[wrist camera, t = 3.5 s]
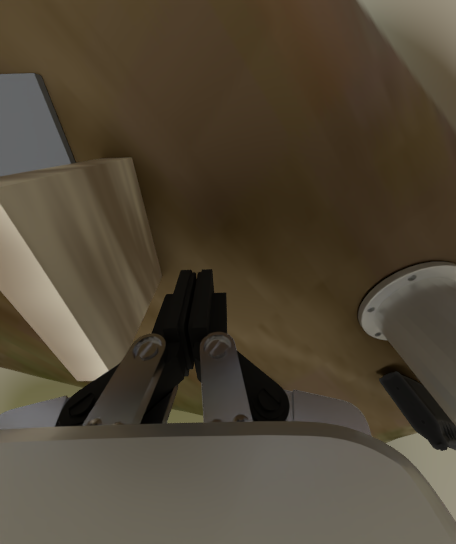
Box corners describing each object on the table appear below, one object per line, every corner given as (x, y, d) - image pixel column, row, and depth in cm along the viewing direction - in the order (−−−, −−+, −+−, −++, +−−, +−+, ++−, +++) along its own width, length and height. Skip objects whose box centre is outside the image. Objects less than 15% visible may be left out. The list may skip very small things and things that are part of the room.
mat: (40, 75, 14) (34, 73, 13) (133, 308, 26) (131, 312, 26) (-147, 81, 14) (-161, 79, 13) (34, 311, 26) (30, 314, 26)
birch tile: (132, 157, 17) (-9, 189, 7) (162, 276, 23) (115, 380, 13) (101, 158, 17) (-85, 191, 7) (140, 276, 23) (77, 381, 13)
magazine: (404, 431, 27) (543, 546, 30) (429, 423, 25) (573, 544, 28) (358, 341, 42) (452, 422, 45) (372, 333, 41) (469, 417, 43)
